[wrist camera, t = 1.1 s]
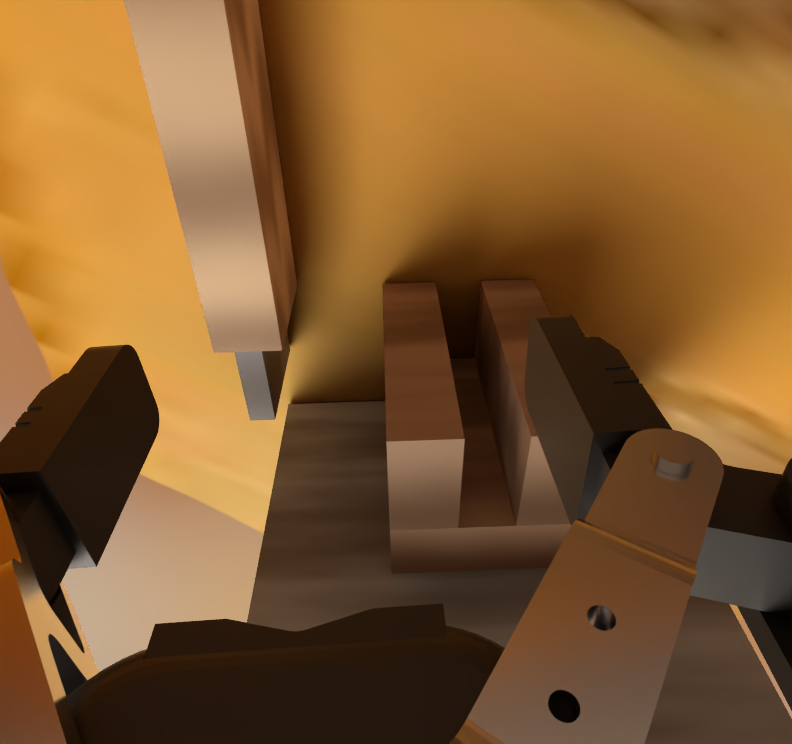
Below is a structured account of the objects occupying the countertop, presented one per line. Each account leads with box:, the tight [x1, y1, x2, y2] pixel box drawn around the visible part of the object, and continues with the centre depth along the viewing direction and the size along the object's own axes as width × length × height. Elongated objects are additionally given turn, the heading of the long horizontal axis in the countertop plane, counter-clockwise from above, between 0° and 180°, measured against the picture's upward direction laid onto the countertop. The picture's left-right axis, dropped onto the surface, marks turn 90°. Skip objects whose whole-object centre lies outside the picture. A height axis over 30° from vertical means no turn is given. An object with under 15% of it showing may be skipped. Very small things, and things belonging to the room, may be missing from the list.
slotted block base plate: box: [247, 279, 792, 744], centre depth 25 cm, size 10×20×20 cm, turn 91°
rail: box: [124, 0, 297, 420], centre depth 24 cm, size 18×3×6 cm, turn 1°
